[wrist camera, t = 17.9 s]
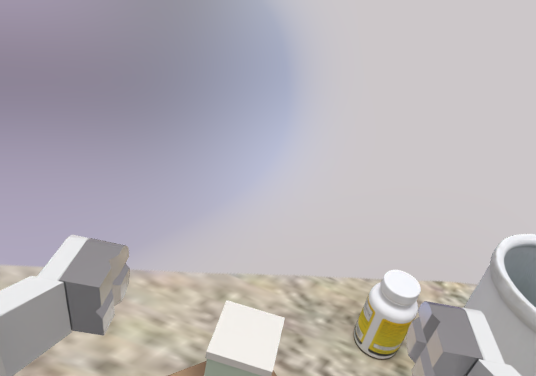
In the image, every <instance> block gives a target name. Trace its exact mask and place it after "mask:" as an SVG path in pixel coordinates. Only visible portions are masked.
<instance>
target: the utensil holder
mask: <svg viewBox="0 0 536 376" xmlns="http://www.w3.org/2000/svg"><path fill="white" fill-rule="evenodd" d="M464 308H467V309H473V310H478V311H481V312H482V313H483V314H484V315H485V318H486V320H487V323H488V325H489V327H490V330H491V332H492V334H493V337H494V339H495V341H496V344H497V346H498V348H499V351H500V353H501V355H502V358H503V360H504V362H505V364H507V365H511V366H512V367H513V368H514V369H515V370H516V371H517V372H518V373H519V374H520V375H521V376H536V235H535V234H518V235H513V236H510V237H507V238H505V239H504V240H502V241H501V242H500V243H499V244H498V246H497V247H496V249H495V250H494V252H493V254H492V257H491V261H490V265H489V267H488V268H487V270H486V272H485V274H484V275H483V277H482V279H481V280H480V282H479V283H478V285H477V287H476V288H475V290H474V291H473V293H472V295H471V296H470V298H469V300H468V301H467V303H466V305H465V306H464Z"/></svg>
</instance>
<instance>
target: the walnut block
mask: <svg viewBox="0 0 536 376" xmlns="http://www.w3.org/2000/svg"><path fill="white" fill-rule="evenodd" d="M206 362H207V361H205V362H203V363H200V364H197V365H195V366H192V367H189V368H187V369H184V370H181V371H179V372H176V373H173V374H171V375H168V376H204V373H205V368H206ZM271 376H276V374H275V372H274V371H273V372H272V375H271Z"/></svg>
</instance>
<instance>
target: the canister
mask: <svg viewBox="0 0 536 376" xmlns="http://www.w3.org/2000/svg"><path fill="white" fill-rule="evenodd" d="M284 319H285V318H284V317H280V316H277V315H274V314H270V313H267V312H264V311H260V310H257V309H254V308H251V307H247V306H244V305H241V304H237V303H234V302H231V301H228V300H227V301H226V303H225V306H224V308H223V311H222V313H221V316H220V319H219V321H218V324H217V326H216V329H215V331H214V334H213V336H212V339H211V341H210V344H209V347H208V349H207V352H206V358H207V362H206V368H205V373H204V376H271V375H272V372H273V367H274V363H275V359H276V354H277V350H278V345H279V341H280V337H281V332H282V328H283V324H284Z"/></svg>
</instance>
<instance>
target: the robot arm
mask: <svg viewBox="0 0 536 376" xmlns="http://www.w3.org/2000/svg"><path fill="white" fill-rule="evenodd" d="M128 257H129V250H128V247H127V246H125V245H121V244H116V243H111V242H106V241H101V240H97V239H92V238H86V237H81V236H76V235H71V236H69V237H68V238H67V239H66V240H65V241H64V242H63V244H62V245H61V246H60V248H59V249H58V250H57V252H56V253H55V254H54V255H53V257H52V258H51V259H50V260H49V262H48V263H47V264H46V266H45V267H44V268H43V269H42V271H41V272H40V273H39V275H38V276H37V277H34V276H30V277H28V278H26V279H24V280H22V281H20V282H17V283H15V284H13V285H11V286H9V287H7V288H5V289H3V290H1V291H0V376H13V375H15V374H16V373H17V372H19V371H20V370H21V369H23V368H24V367H25V366H27V365H28V364H29V363H31V362H32V361H33V360H35V359H36V358H38V357H39V356H40V355H42V354H43V353H44V352H46V351H47V350H48V349H50V348H51V347H52V346H54V345H55V344H56V343H58V342H59V341H61V340H62V339H63V338H65V337H66V336H67V335H69V334H70V333H71V332H72V331H78V332H85V333H91V334H98V335H105V333H106V331H107V329H108V327H109V325H110V323H111V321H112V319H113V317H114V315H115V314H114V306H115V305H117V304H118V303H120V302H121V301H122V299H123V297H124V295H125V293H126V290H127V286H128V283H129V276H130V269H129V267H128V266H127V265H126V261H127V259H128ZM418 313H419V318H417V319H415V320H413V321H412V322H411V324H410V326H409V328H408V333H407V338H406V340H407V351H408V355H409V357H410V358H411V359H412V360H413V361H414V362H415V365H414V367H413V368H412V370H411V371H412V375H413V376H521V375H520V374H519V373H518V372H517V371H516V370H515V369H514V368H513V367H512V366H511V365H507V364H505V362H504V360H503V358H502V355H501V353H500V351H499V348H498V346H497V344H496V341H495V339H494V337H493V334H492V332H491V330H490V327H489V325H488V323H487V320H486V318H485V315H484V314H483V313H482V312H481V311H478V310H473V309H467V308H460V307H455V306H450V305H444V304H438V303H433V302H427V301H425V302H423V303H422V304H421V305H420V307H419V309H418ZM71 330H72V331H71Z"/></svg>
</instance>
